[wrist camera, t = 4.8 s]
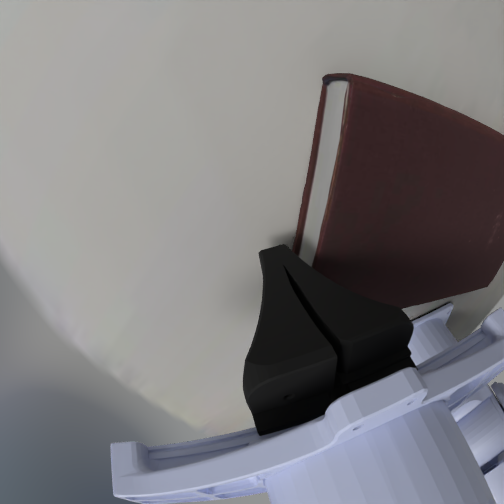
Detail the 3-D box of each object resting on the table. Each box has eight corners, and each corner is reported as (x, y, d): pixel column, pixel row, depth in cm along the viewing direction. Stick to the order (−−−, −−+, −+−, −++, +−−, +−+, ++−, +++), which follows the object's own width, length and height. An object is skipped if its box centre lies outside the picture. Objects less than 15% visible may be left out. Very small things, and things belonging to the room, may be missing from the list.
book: (318, 66, 11) (358, 71, 8) (519, 144, 15) (548, 161, 13) (277, 291, 18) (294, 332, 15) (469, 268, 23) (490, 291, 20)
